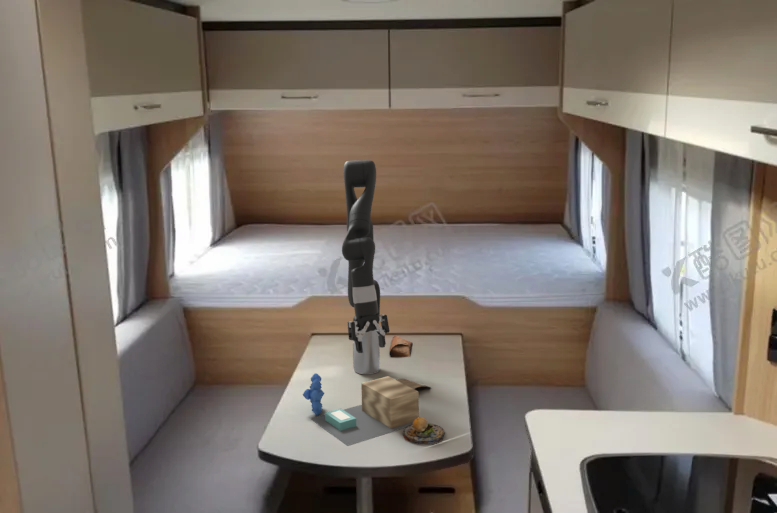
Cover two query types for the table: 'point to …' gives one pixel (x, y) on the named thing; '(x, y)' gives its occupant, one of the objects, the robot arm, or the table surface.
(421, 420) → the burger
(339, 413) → the card box
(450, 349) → the table surface
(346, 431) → the mat
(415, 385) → the clay tablet
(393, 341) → the sunglasses case
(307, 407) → the table surface
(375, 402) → the oak block
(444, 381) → the table surface
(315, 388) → the blue knobby sculpture
